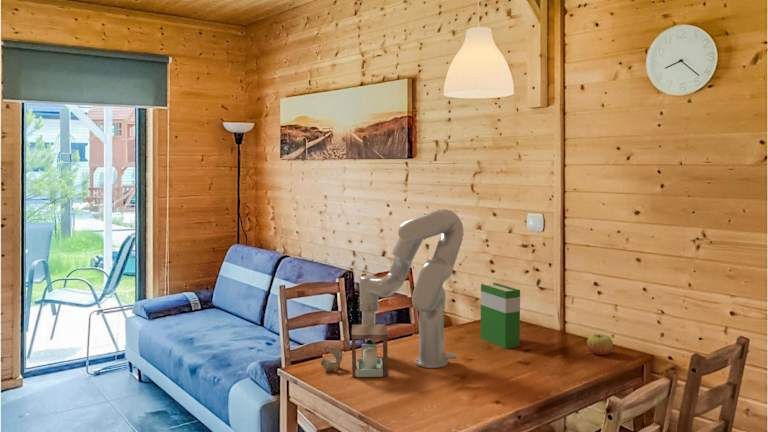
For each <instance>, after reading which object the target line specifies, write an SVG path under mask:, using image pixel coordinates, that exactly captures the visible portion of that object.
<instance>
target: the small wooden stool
mask: <svg viewBox="0 0 768 432" xmlns="http://www.w3.org/2000/svg"><path fill="white" fill-rule="evenodd" d="M387 327H388V326H387V324H386V323H382V324H381V323H379V324H378V323H377V324H376V323H375V324H363V325H362V324H352V325H351V366H352V367H351V369H352V371H351V372H352V373H351V374H352V376H351V377H352V378H356V377H357V355H356V354H357V348H356V347H357V346H356V342H357V340H366V339H373V340H376V339H377V340H380V339H382V365H383V377H384V378H386V377H387V378H388V377H389V376H388V375H389V374H388V367H389V366H388V339H389V337H388V336H389V335H388V328H387Z"/></svg>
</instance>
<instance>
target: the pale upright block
mask: <svg viewBox="0 0 768 432" xmlns="http://www.w3.org/2000/svg"><path fill="white" fill-rule="evenodd" d="M377 358H378V348H377V349H376V348H364V349H363V369H377Z"/></svg>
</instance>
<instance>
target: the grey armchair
mask: <svg viewBox="0 0 768 432" xmlns="http://www.w3.org/2000/svg"><path fill="white" fill-rule="evenodd" d="M364 348H376V349H377V350H378V347H377V343H373V344H365V343H361V358H356V377H357V378H373V377H374V378H378V377H379V378H380V377H384V367H383V357H377V369H363V349H364Z"/></svg>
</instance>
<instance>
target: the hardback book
mask: <svg viewBox="0 0 768 432" xmlns="http://www.w3.org/2000/svg"><path fill="white" fill-rule="evenodd" d="M520 321H521V289H517V288H515V287H511V286H509V285H508V286H507V285H505V284H500V283H498V282H493V283H492V284H489V285H487V284H483V283H481V284H480V335H479V336H480V339H483V340H484V341H487V342H489V343H491V344H494V345H496V346H498V347H500V348H503V349H511V348H512V349H513V348H517V347H520V338H521V337H520V334H521V333H520V329H521V326H520V324H521V322H520Z"/></svg>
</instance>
